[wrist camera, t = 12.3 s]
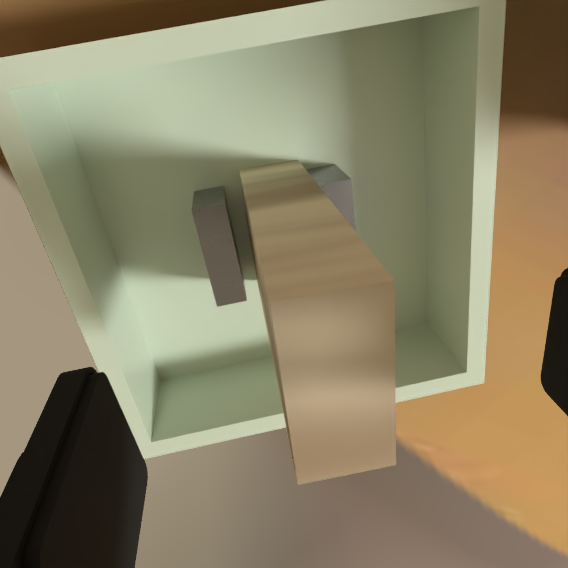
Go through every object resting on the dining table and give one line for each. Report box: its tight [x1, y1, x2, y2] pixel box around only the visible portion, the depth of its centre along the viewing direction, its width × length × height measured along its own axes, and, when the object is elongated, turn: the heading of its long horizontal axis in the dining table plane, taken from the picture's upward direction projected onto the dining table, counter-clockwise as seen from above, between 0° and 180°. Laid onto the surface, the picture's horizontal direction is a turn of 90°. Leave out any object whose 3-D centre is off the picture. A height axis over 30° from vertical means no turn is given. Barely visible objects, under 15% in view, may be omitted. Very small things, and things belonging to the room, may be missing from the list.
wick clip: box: [192, 164, 356, 307], centre depth 18 cm, size 4×6×2 cm
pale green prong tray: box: [0, 0, 506, 459], centre depth 18 cm, size 15×15×5 cm
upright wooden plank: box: [239, 160, 396, 485], centre depth 15 cm, size 5×2×11 cm, turn 7°
